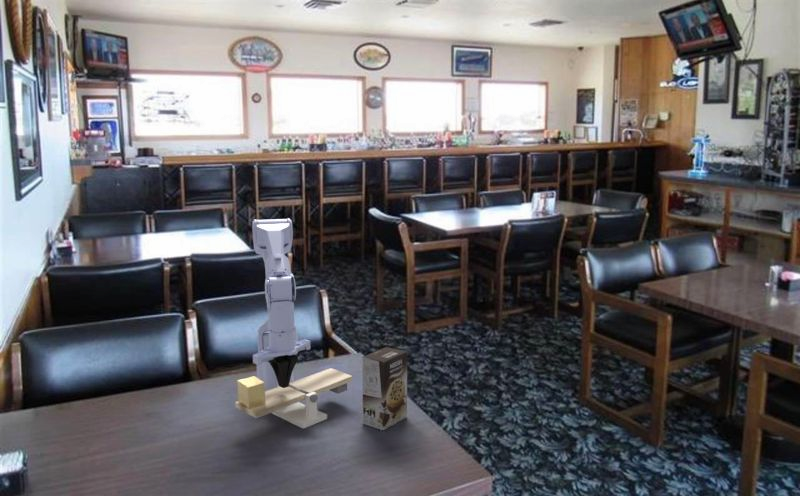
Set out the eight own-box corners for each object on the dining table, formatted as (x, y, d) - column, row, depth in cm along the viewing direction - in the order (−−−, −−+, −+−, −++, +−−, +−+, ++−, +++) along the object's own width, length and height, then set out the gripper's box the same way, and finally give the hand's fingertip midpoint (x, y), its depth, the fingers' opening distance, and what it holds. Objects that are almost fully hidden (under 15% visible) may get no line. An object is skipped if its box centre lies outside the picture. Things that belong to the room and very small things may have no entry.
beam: (235, 417, 145) (234, 401, 144) (330, 381, 165) (330, 367, 164) (257, 429, 139) (256, 412, 139) (353, 390, 160) (353, 375, 159)
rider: (255, 397, 147) (238, 401, 145) (253, 376, 146) (237, 380, 144) (265, 404, 143) (248, 409, 141) (264, 382, 142) (247, 387, 140)
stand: (268, 411, 155) (267, 384, 153) (292, 402, 160) (291, 376, 158) (303, 428, 146) (302, 399, 145) (327, 418, 151) (326, 390, 150)
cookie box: (383, 431, 145) (383, 362, 142) (361, 423, 148) (360, 356, 145) (408, 417, 152) (408, 351, 149) (386, 410, 156) (386, 345, 153)
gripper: (265, 340, 138) (267, 400, 141) (318, 325, 149) (319, 381, 151) (246, 333, 143) (248, 391, 146) (299, 319, 154) (300, 374, 156)
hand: (283, 386), depth 149 cm, fingers closed
